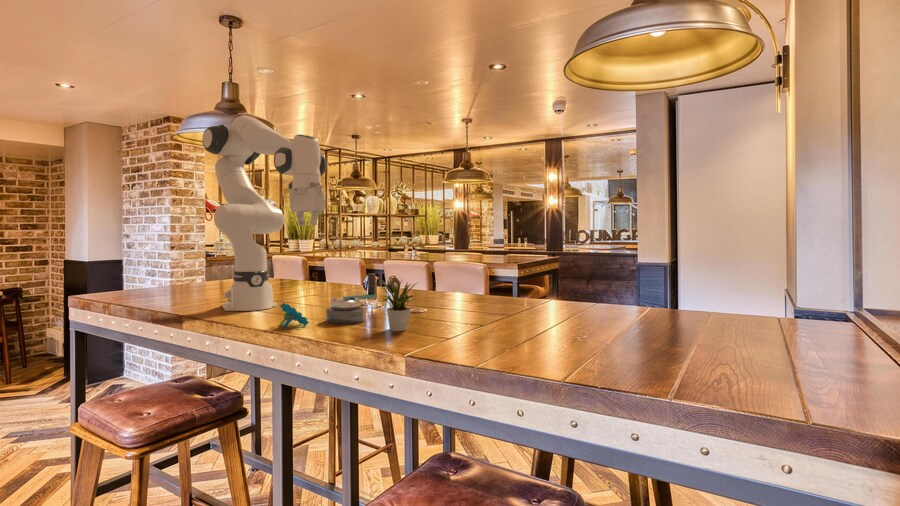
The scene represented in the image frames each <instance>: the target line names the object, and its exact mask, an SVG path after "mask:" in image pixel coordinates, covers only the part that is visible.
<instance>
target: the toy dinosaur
mask: <svg viewBox="0 0 900 506" xmlns="http://www.w3.org/2000/svg"><path fill="white" fill-rule="evenodd" d="M280 308H281V310H282V311H283V312H284V314H283V320H281V322H280V323H279V326H282V328H284V329H286V328H287V327H288V326H289V324H290V323H291V322H293V321H294V322H295V321H297V322H298V324H300V325H304V326H307V325H308V324H309V321H308V319H307V317H306V316H303V313H301V312H300V311H297V309H296V307H291V305H290V304H288V303H284V302H283V303H282V304H280Z"/></svg>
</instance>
